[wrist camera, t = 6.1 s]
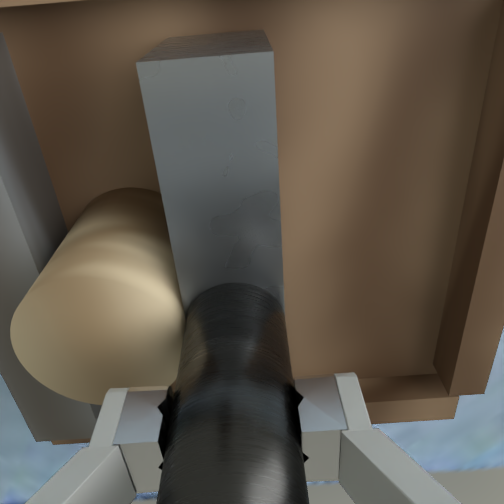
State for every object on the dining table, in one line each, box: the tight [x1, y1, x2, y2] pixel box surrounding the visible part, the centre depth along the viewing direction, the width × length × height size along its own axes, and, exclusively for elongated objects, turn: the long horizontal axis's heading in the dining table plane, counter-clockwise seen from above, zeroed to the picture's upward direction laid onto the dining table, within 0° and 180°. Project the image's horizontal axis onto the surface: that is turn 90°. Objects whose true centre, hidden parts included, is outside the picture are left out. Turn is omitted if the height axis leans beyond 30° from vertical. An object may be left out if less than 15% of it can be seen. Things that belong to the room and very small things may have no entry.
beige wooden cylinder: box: [10, 187, 186, 405], centre depth 16 cm, size 5×5×6 cm
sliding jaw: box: [136, 29, 309, 504], centre depth 13 cm, size 3×15×12 cm, turn 4°
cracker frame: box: [0, 0, 504, 445], centre depth 17 cm, size 22×21×4 cm
